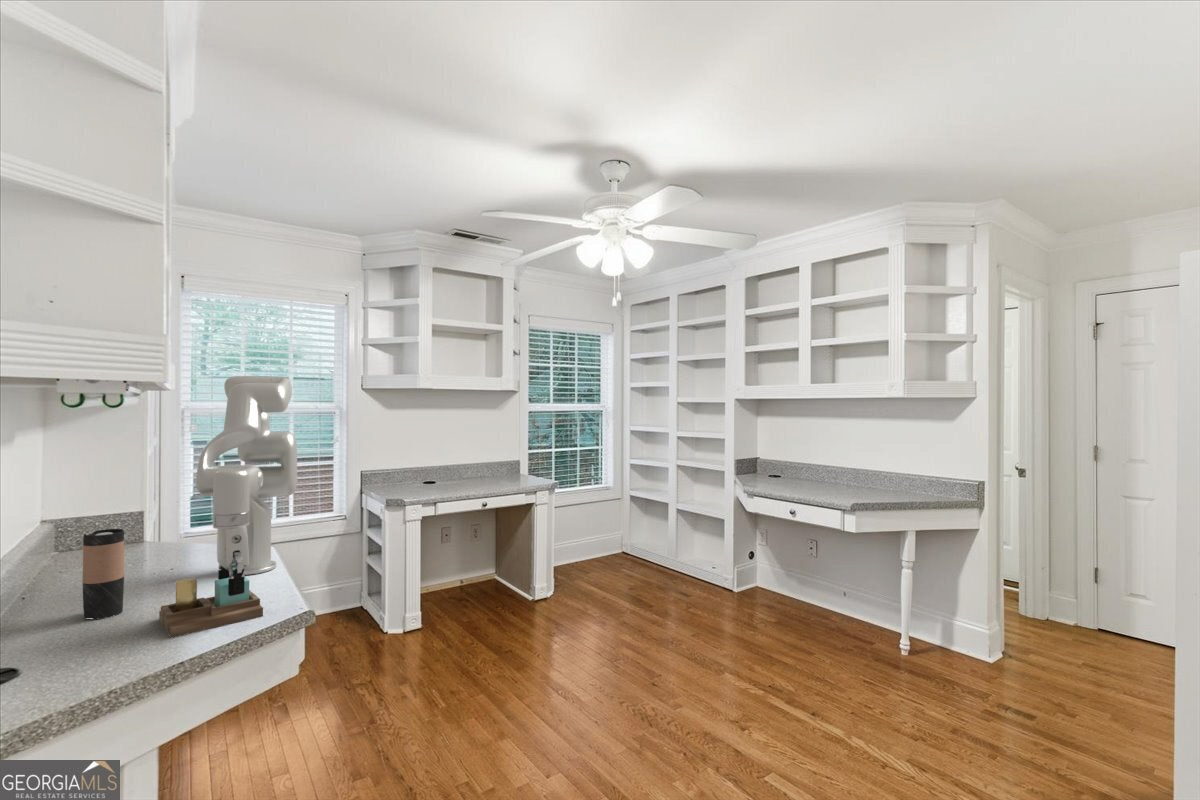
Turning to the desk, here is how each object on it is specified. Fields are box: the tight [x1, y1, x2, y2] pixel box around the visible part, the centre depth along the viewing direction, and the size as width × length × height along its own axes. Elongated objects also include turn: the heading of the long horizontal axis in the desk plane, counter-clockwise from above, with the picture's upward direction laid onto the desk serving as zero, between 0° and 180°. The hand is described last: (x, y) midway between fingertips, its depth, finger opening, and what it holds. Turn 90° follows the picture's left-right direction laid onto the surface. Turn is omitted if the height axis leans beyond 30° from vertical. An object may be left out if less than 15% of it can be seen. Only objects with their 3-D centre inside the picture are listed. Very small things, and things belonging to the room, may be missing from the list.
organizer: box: [158, 589, 264, 638], centre depth 136 cm, size 15×18×4 cm
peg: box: [175, 577, 198, 612], centre depth 133 cm, size 4×4×8 cm
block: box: [214, 575, 250, 607], centre depth 139 cm, size 6×6×6 cm
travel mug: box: [82, 528, 125, 620], centre depth 138 cm, size 8×8×20 cm
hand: (231, 589), depth 139 cm, fingers open, 9 cm apart
